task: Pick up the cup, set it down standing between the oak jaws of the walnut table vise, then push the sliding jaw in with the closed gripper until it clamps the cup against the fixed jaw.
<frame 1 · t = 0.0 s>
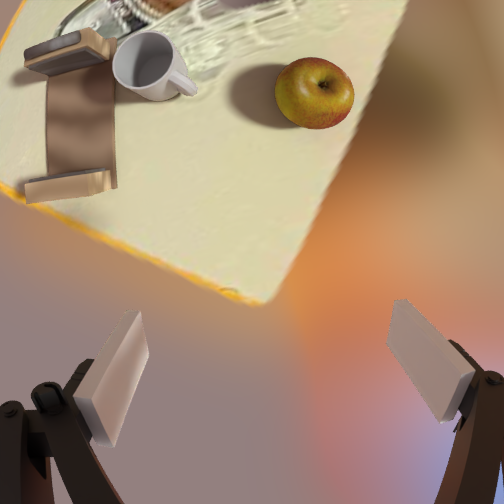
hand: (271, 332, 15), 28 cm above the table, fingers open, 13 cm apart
cup: (170, 81, 36), on the table
sliding jaw: (64, 53, 29), point 6 cm above the table, slide at 0.0 cm
fruit: (307, 98, 38), on the table
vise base: (80, 116, 37), on the table
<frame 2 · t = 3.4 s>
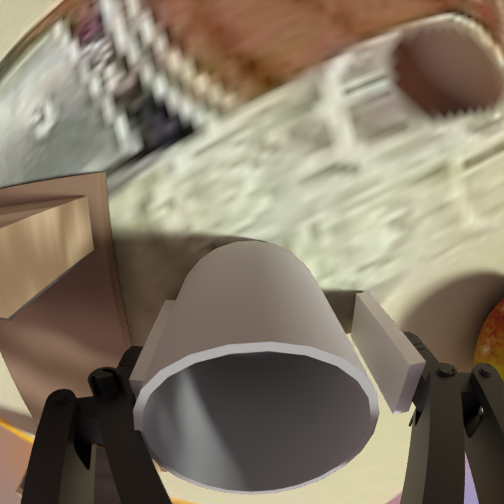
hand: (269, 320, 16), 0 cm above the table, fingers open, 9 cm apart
cup: (270, 315, 17), on the table, touching gripper
fruit: (497, 325, 18), on the table
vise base: (62, 354, 17), on the table
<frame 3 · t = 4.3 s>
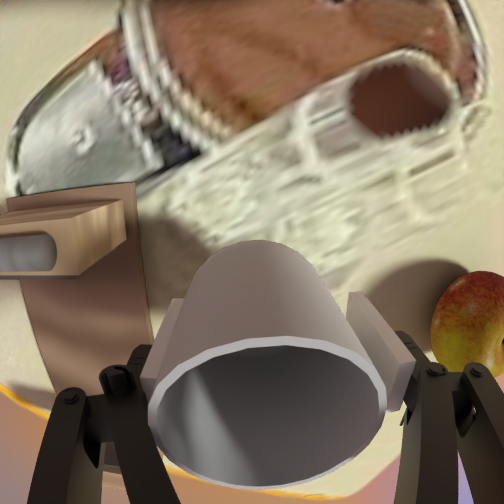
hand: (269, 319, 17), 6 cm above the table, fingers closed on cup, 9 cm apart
cup: (276, 313, 17), point 5 cm above the table, touching gripper
sliding jaw: (27, 242, 15), point 6 cm above the table, slide at 0.0 cm
fruit: (455, 307, 24), on the table
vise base: (89, 328, 22), on the table
when the fingers open (2 cm above the table, at t = 8.6 s): cup stays where it is, resting on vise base.
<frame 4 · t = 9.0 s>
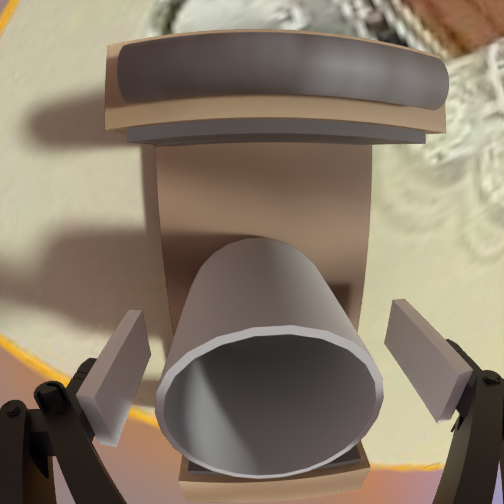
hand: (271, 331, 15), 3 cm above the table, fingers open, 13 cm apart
cup: (277, 309, 18), point 1 cm above the table, touching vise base
sliding jaw: (276, 96, 10), point 6 cm above the table, slide at 0.0 cm
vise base: (266, 271, 18), on the table
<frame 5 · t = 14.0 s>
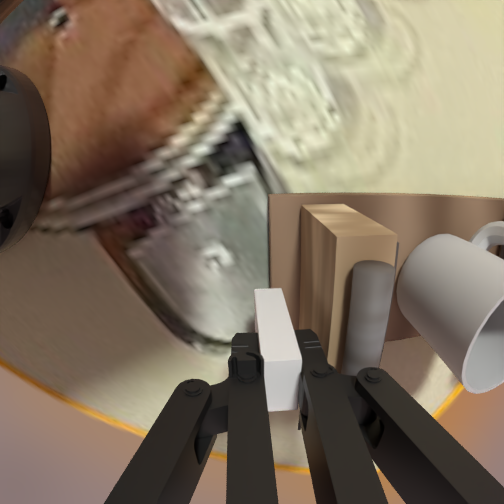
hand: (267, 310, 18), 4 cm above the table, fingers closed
cup: (443, 263, 20), point 1 cm above the table, touching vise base
sliding jaw: (343, 315, 16), point 6 cm above the table, slide at 0.8 cm, touching gripper
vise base: (416, 267, 21), on the table
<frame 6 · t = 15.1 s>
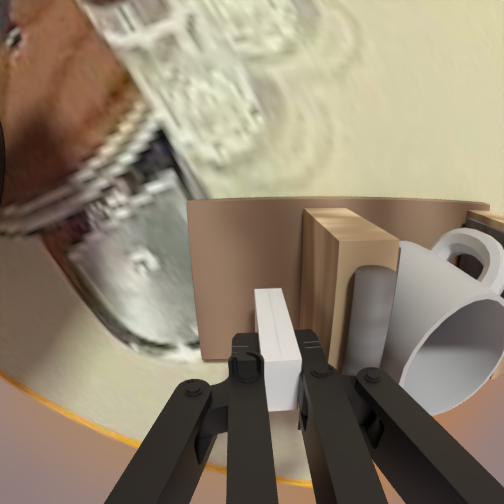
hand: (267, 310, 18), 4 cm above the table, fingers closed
cup: (403, 271, 20), point 1 cm above the table, touching sliding jaw, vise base
sliding jaw: (344, 319, 16), point 6 cm above the table, slide at 5.8 cm, touching cup, gripper
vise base: (357, 276, 21), on the table
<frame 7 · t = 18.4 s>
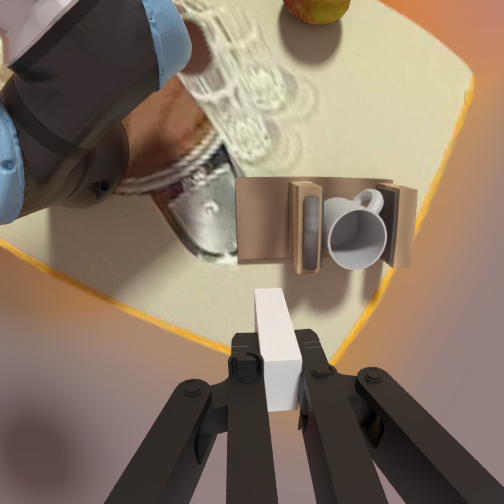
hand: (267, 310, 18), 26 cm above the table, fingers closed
cup: (341, 214, 42), point 1 cm above the table, touching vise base
sliding jaw: (306, 226, 38), point 6 cm above the table, slide at 5.9 cm
fruit: (310, 5, 34), on the table
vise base: (317, 216, 43), on the table
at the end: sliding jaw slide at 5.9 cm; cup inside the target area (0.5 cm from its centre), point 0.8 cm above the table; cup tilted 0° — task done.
